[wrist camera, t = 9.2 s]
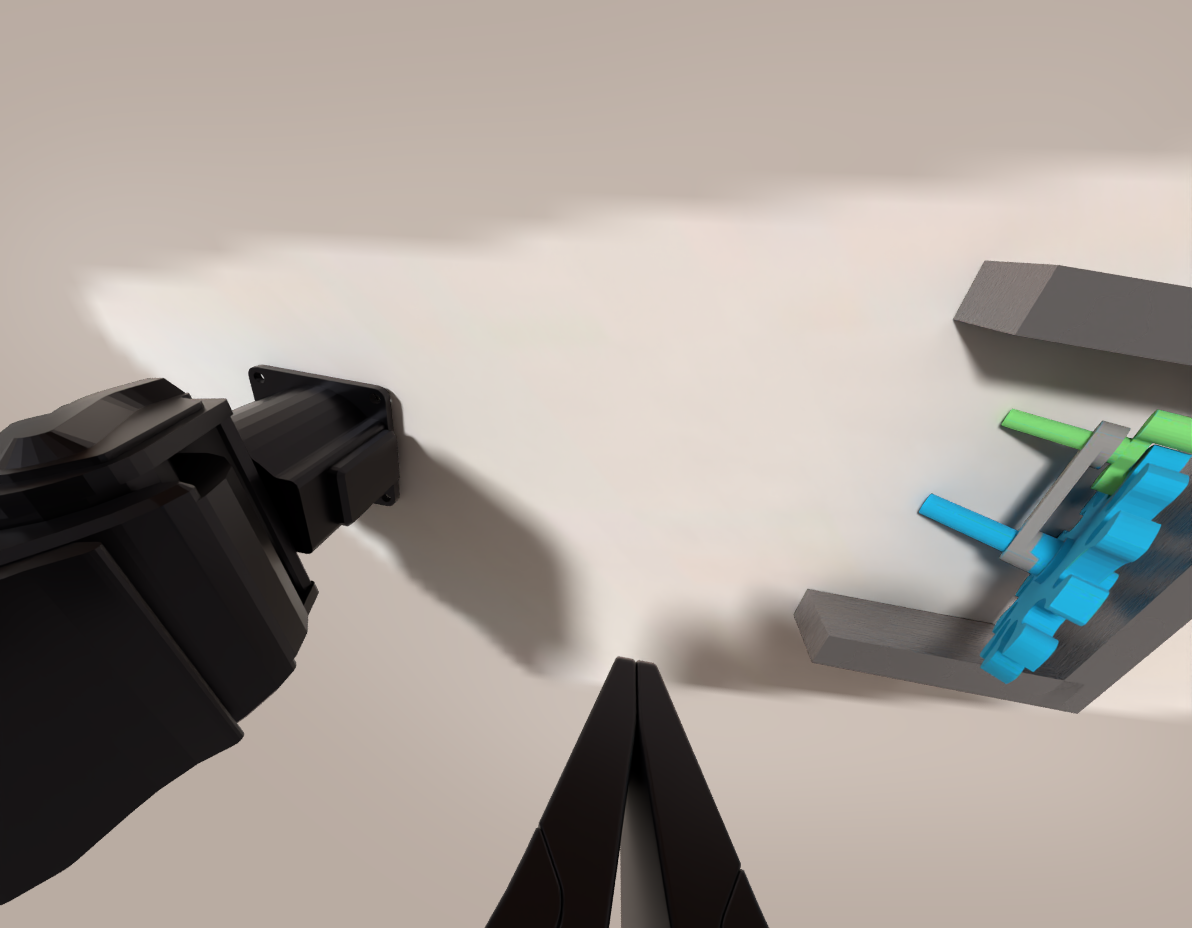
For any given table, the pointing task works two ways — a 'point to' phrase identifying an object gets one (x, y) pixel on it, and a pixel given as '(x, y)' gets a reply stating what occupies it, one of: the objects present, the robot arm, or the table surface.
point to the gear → (1076, 529)
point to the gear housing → (1144, 587)
